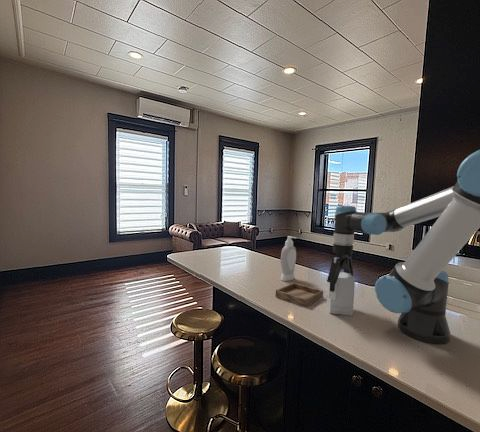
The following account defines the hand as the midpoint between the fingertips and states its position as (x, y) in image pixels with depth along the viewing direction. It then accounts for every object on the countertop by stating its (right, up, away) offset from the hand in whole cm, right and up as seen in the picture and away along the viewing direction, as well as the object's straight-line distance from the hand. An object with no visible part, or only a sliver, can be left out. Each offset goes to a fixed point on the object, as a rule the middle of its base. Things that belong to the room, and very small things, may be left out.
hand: (339, 294), depth 108 cm
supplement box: (0, -7, 0) cm, 7 cm away
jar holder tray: (-14, -5, +13) cm, 20 cm away
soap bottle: (-14, -3, +38) cm, 40 cm away
